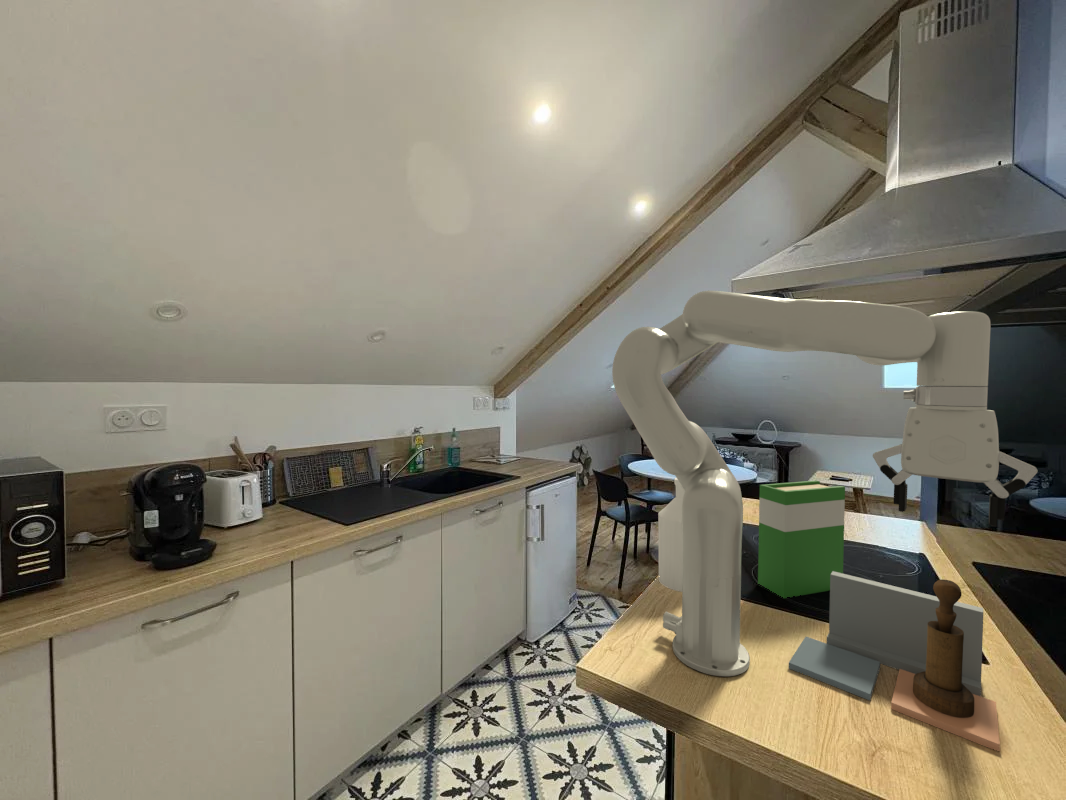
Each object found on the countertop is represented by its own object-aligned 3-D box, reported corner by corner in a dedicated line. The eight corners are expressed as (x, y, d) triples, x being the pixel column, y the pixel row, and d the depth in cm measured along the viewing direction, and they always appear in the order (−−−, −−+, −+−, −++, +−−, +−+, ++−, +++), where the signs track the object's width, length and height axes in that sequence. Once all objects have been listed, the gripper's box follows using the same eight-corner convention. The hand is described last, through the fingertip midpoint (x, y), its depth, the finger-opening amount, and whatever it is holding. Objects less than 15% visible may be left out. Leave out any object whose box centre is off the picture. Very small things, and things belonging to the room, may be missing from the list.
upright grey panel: (826, 644, 82) (828, 577, 81) (833, 632, 86) (835, 568, 86) (981, 698, 68) (983, 617, 67) (980, 679, 72) (982, 603, 72)
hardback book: (814, 575, 112) (816, 480, 111) (842, 588, 105) (845, 486, 104) (757, 584, 107) (759, 484, 106) (783, 598, 100) (785, 491, 99)
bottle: (684, 597, 100) (686, 486, 99) (647, 577, 110) (648, 477, 110) (720, 586, 106) (721, 481, 105) (681, 568, 116) (682, 472, 115)
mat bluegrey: (788, 668, 75) (788, 662, 75) (805, 641, 83) (805, 636, 83) (869, 700, 67) (870, 694, 67) (880, 667, 75) (880, 662, 75)
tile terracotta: (891, 709, 65) (891, 702, 65) (899, 674, 73) (899, 668, 73) (999, 752, 58) (999, 744, 58) (995, 708, 66) (995, 701, 66)
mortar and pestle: (909, 699, 66) (914, 579, 65) (916, 680, 70) (920, 567, 70) (972, 725, 61) (978, 595, 60) (975, 703, 65) (981, 582, 65)
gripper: (871, 398, 68) (867, 509, 68) (1044, 401, 56) (1037, 537, 56) (878, 397, 73) (874, 500, 74) (1037, 400, 61) (1031, 524, 62)
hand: (945, 516), depth 65 cm, fingers open, 9 cm apart
